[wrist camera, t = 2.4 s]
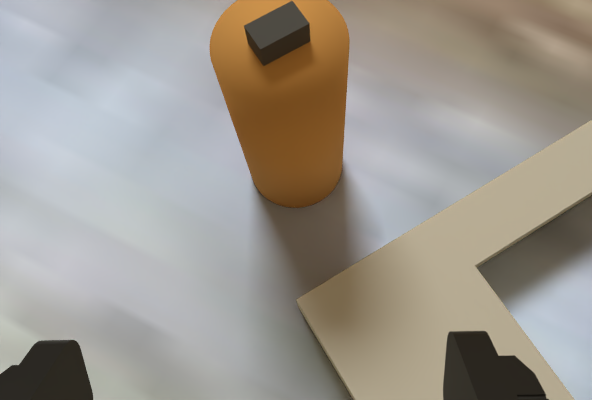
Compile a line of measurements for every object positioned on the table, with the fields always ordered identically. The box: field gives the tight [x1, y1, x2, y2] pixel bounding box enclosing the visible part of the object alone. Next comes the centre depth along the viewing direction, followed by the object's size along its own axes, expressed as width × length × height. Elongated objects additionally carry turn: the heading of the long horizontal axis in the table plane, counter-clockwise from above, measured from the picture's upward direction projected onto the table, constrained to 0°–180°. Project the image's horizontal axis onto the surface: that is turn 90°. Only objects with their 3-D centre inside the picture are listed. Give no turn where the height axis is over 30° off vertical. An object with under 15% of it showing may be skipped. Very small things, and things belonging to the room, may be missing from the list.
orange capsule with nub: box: [210, 0, 349, 208], centre depth 24 cm, size 5×5×12 cm
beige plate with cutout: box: [296, 120, 592, 400], centre depth 25 cm, size 22×13×4 cm, turn 121°
